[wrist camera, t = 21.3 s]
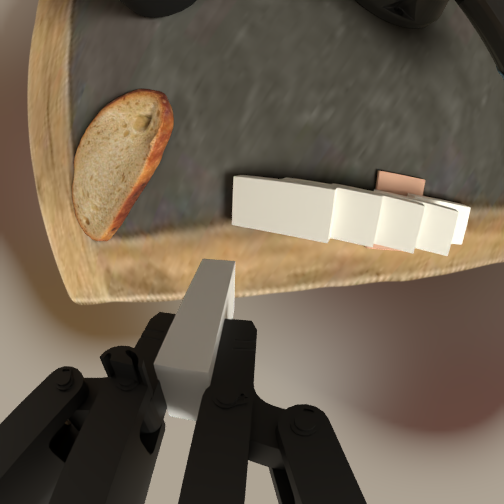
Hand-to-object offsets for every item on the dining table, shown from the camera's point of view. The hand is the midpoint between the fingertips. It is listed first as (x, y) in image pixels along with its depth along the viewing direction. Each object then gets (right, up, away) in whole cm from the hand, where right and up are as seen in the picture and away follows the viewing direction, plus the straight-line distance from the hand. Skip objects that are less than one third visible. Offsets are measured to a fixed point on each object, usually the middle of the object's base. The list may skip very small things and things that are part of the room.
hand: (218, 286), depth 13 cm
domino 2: (+5, +7, +18) cm, 20 cm away
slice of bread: (-15, +13, +18) cm, 27 cm away
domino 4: (+16, +6, +18) cm, 24 cm away
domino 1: (0, +8, +18) cm, 20 cm away
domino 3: (+10, +7, +18) cm, 22 cm away
